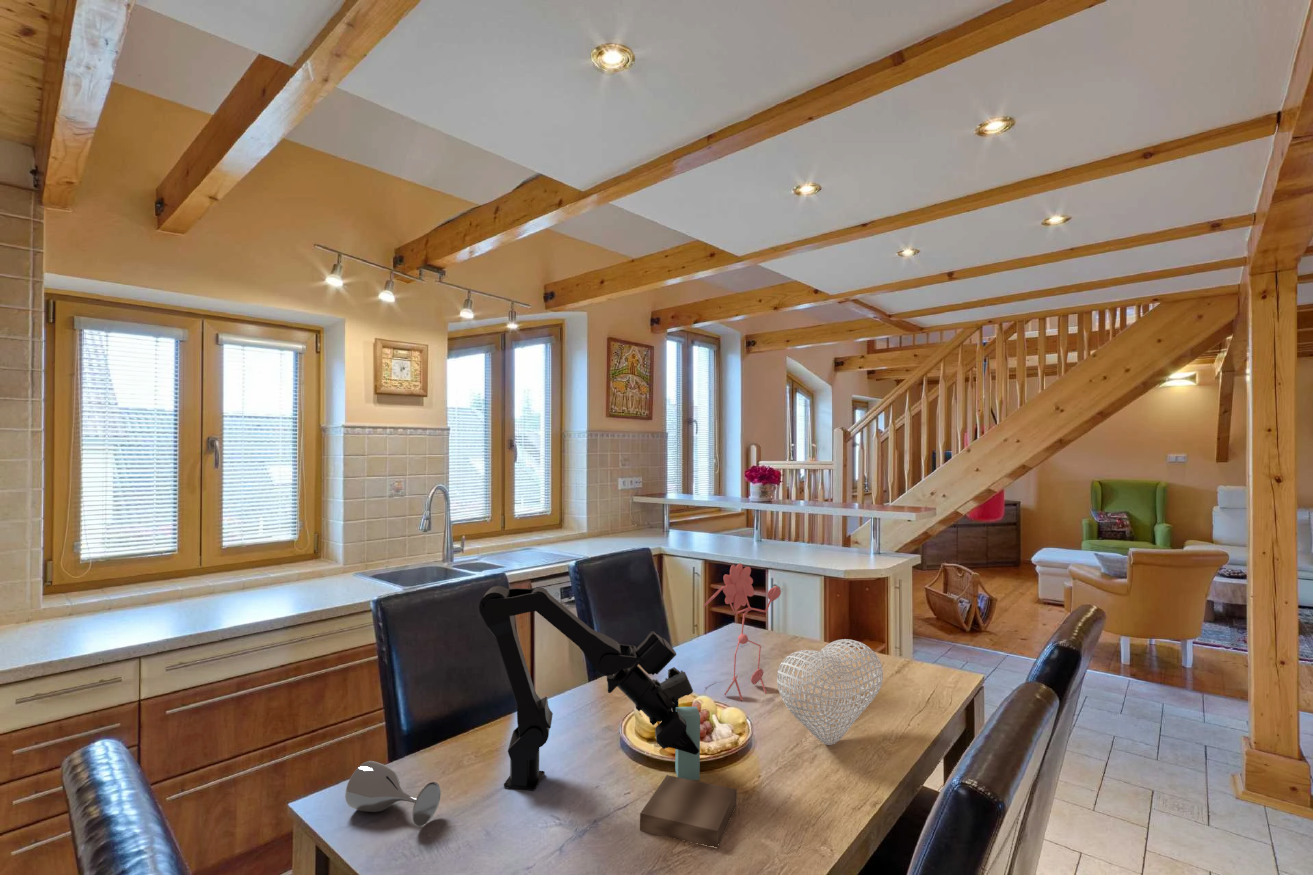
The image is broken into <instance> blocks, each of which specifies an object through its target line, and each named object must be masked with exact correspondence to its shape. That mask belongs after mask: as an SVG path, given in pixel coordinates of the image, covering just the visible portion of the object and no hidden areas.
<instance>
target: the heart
mask: <svg viewBox="0 0 1313 875" xmlns="http://www.w3.org/2000/svg"><path fill="white" fill-rule="evenodd" d="M846 649H848V650H846ZM857 649H858V650H857ZM859 654H860V655H859ZM846 655H847V656H848V657H847V656H846ZM854 656H855V658H854ZM868 657H869V660H868ZM858 662H860V666H859V664H858ZM847 663H848V664H847ZM793 664H794V665H793ZM854 664H855V665H856V666H855V667H854ZM798 665H799V666H798ZM868 668H869V670H868ZM883 670H884V669H883V666H882V663H881V660H880V658H879V657H878V655H877V654H876V652H875V651H874V650H873V649H872V648H871V647H870V646H868V645H866V644H864V643H863V642H861V641H857V640H853V639H847V638H844V639H843V638H842V639H837V640H833V641H832V642H829V643H828V644H826V645H825V646H824V647H823V648H821V649H820V651H818V650H809V649H807V650H806V649H802V650H798V651H795V652H792V653H790V654H789V655H787V656H785V658H784V659H783V660H782V661H781V663H780V664H779V666H778V669H777V675H776V682H777V690H778V692H779V695H780V698H781V699H782V701H783V703H784V705H785V706H786V708H787V709H788V711H789V712H790V713H791V714H792V715H793V716H794V717H795V719H797V721H798V722H800V723H801V724H802V725H803V726H804V727H805V728H806V729H807V730H808V731H809V732H810V733H811V735H813V737H815V738H816V739H817V740H818V741H820V743H823V744H824V745H827V746H833V745H835V744H836V743H838V742H839V741H840V740H841V739H842V738H843V737H844V736H845V735H846V734H847V732H848V731H849V729H850V728H851V726H853V724H854V723H855V722H856V721H857V719H858V718H859V717H860V716H861V714H862V713H863V712H864V711H865V710H866V708H868V706H869V705H870V704H871V703H872V702H873V701H874V700H875V698H876V696H877V695H878V693H879V692H880V690H881V689H882V686H883V681H884V680H883V679H884V671H883ZM791 671H792V672H791ZM818 671H819V672H818ZM857 671H859V675H858V674H857V673H858V672H857ZM796 672H797V673H796ZM800 672H801V676H800ZM863 672H864V673H863ZM795 673H796V676H795ZM853 673H854V674H853ZM868 674H869V675H868ZM823 675H824V676H825V677H826V679H825V678H824V676H823ZM812 676H813V677H812ZM839 678H840V680H839ZM804 679H806V680H804ZM856 680H857V684H856ZM861 681H862V683H860V682H861ZM799 682H800V683H799ZM814 682H815V683H814ZM818 682H819V684H818ZM837 685H838V686H837ZM841 685H842V686H841ZM805 686H806V689H805ZM810 686H811V688H810ZM825 686H826V688H825ZM832 687H833V689H832ZM841 687H842V688H841ZM816 689H817V691H818V693H816ZM857 690H858V692H857ZM811 691H812V693H811ZM837 692H838V693H837ZM830 693H832V695H831V696H830ZM802 694H803V698H802ZM823 694H825V695H826V696H824V695H823ZM862 694H863V695H862ZM866 694H867V695H866ZM796 695H798V698H797V696H796ZM818 698H819V699H818ZM853 698H854V699H853ZM808 699H809V700H810V701H808ZM825 702H826V703H825ZM798 703H799V704H800V706H799V704H798ZM803 704H805V705H803ZM810 706H811V707H812V709H811V708H810ZM815 706H817V707H815ZM801 711H802V712H803V713H802V712H801ZM812 712H814V714H813V713H812ZM817 712H819V714H818V713H817ZM829 741H830V742H829ZM831 741H832V742H831Z"/></svg>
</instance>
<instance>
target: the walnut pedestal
mask: <svg viewBox="0 0 1313 875" xmlns="http://www.w3.org/2000/svg"><path fill="white" fill-rule="evenodd" d="M737 792H738V791H737V788H734V787H729V786H723V785H718V784H712V783H707V782H703V781H699V780H689V779H684V778H679V777H677V776H673V775H668V774H667V775H666V776H664V778H663V780H662V781H661V783H660V784H659V786H658V787H657V788H656V790H655V791H654V793H653V794H652V795H651V797H650V799H649V800H648V801H647V803H646V804H645V805H644V806H643V808H642V809H641V812H640V813H639V831H641V832H645V833H649V834H653V835H657V836H661V837H665V838H670V839H674V838H675V839H674V840H678V839H679V841H682V840H685V841H684V842H687V843H690V842H692V843H691V844H695V843H698V844H697V845H699V844H704V845H707V846H714V847H718V848H719V846H718V844H719V843H720V844H721V841H722V839H723V837H722V836H724V835H723V834H725V832H726V830H727V828H728V826H727V825H729V823H730V821H731V819H732V817H733V814H734V812H733V811H735V810H734V809H736V808H735V807H737V799H738V798H737ZM732 813H733V814H732ZM731 816H732V817H731ZM730 818H731V819H730ZM729 820H730V821H729ZM728 822H729V823H728ZM726 827H727V828H726ZM725 829H726V830H725ZM724 831H725V832H724ZM666 836H667V837H666ZM721 838H722V839H721ZM720 844H719V845H720ZM707 846H706V847H707Z"/></svg>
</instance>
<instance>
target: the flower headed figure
mask: <svg viewBox="0 0 1313 875" xmlns="http://www.w3.org/2000/svg"><path fill="white" fill-rule="evenodd" d="M751 572H752V569H751V567H750V566H745V567H744V568H743V564H742V563H741V562H740V563H737V565H735V564H732V565H731V566H730V569H729V574H724V575H723V579H722V580H723V583H724V584H725V586H721V587H720V588H719V589H718V590H716V591H715V592H714V594H712V596H711V597H710V598H708V600H707V601H706V602H705V603H704V604H703V606H702V607H703V608H705V607H706V606H707V605H709V603H711V602H712V601H713V600H714V599H715V598H716V597H717V596H718V595H719V594H720V593H721V591H722V592H723V594H724V595H725V598H724V602H725V604H726V605H729V606H730V608H731V611H732V613H733V615H734V616H736V615H739V614H741V613H743V612H744V613H743V615H742V623H741V633H740V635H738V637H737V641H738V642H737V646H736V649H735V652H734V657H733V658H734V660H733V678H732V681H731V683H730V684H729V686H728V688H727V690H725V693H724V694H723V696H724V695H725V696H727V694H728V692H729V690H730V689H731V687H732V686H733V685H734V683H735V686H736V688H737V691H738V695H739V698H740V701H741V700H743V701H744V698H743V696H742V692H741V690H740V687H739V683H738V680H737V678H738V674H737V675H736V666H737V665H736V662H737V653H738V649H739V646H740V644H741V645H745V644H747V643H748V642H749V643H751V644H752V645H753V644H754V645H756V646H758V647H759V650H758V660H757V669H756V670H755V671H754V672H753V674H752V675H751V677H750V682H751V683H752V685H755V686H756V685H757V684H758V683H759V681H760V682H761V686H762V689H763V693H765V694H767V690H766V686H765V684H764V680H763V676H764V674H765V673H764V670H763V668H760V661H761V651H762V649H761V648H762V646H761V644H758V643H757V642H754V641H751V640H749V637H748V635H747V634H745V633H744V629H745V628H744V626H745V619H746V615H747V614H748V612H749V611H757V612H759V613H760V612H761V613H767V612H768V610H769V607H770V605H771V603H772V602H774V601H775V600H777V599H778V598H779V597H780V596H781V595H782V590H781V588H780V587H778V586H777V585H775V586H774V587H771V588H770V589H769V590H768V592H767V598H768V603H767V605H766V607H765V610H764V609H760V608H755V607H751V606H750V602H749V599H748V597H750V598H751V597H753V596H754V595H755V590H754V587H753V585H752V584H754V579H753V578H752V577H751V576H750V575H751ZM746 605H747V607H745V606H746ZM741 606H742V607H745V608H743V609H741V610H738V609H740V607H741ZM735 610H736V611H737V610H738V611H737V612H736V611H735Z"/></svg>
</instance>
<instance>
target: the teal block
mask: <svg viewBox="0 0 1313 875" xmlns="http://www.w3.org/2000/svg"><path fill="white" fill-rule="evenodd" d="M676 712H678V713H679V714H680V715H681V716H682V717H683V719H685V721H686V724H687V728H686V732H687V733H688V735H689V736H690V738H691V739H692V740H693V742H694V743H695V745H696V746H697V748H698V749H699V752H698V753H697V754H696V755H695V754H691V753H688V752H685V751H681V750H678V749H674V750H675V751H674V754H675V757H674V758H675V761H674V764H675V765H674V766H675V767H674V769H675V775H676V777H679V778H684V779H689V780H694V781H699V780H700V774H701V772H700V769H701V767H700V766H701V765H700V764H701V762H700V761H701V760H700V759H701V754H700V753H701V752H700V751H701V750H700V749H701V714H700V711H699V710H698V706H678V707H676Z"/></svg>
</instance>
